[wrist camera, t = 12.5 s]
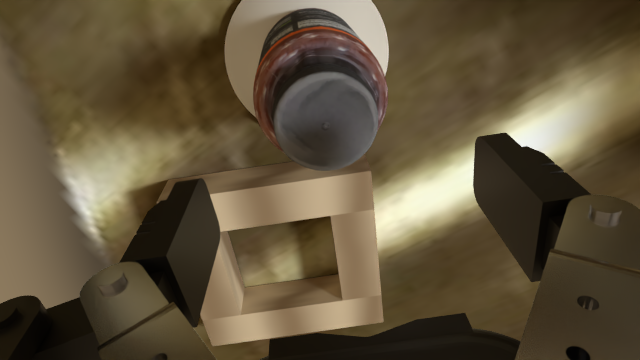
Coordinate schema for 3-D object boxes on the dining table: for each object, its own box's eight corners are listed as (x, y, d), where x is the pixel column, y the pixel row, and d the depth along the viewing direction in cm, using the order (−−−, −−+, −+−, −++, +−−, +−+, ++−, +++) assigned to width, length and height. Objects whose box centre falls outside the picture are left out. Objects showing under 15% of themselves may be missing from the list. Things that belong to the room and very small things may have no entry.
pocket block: (363, 150, 29) (370, 170, 27) (376, 295, 36) (383, 321, 34) (168, 179, 29) (156, 202, 27) (218, 317, 36) (212, 346, 34)
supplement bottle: (332, 119, 27) (357, 215, 17) (247, 81, 26) (221, 164, 16) (377, 33, 25) (435, 89, 15) (286, -15, 23) (283, 13, 13)
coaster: (381, -45, 23) (383, -45, 23) (390, 120, 28) (392, 123, 28) (207, -19, 24) (205, -18, 23) (245, 141, 28) (244, 145, 28)
